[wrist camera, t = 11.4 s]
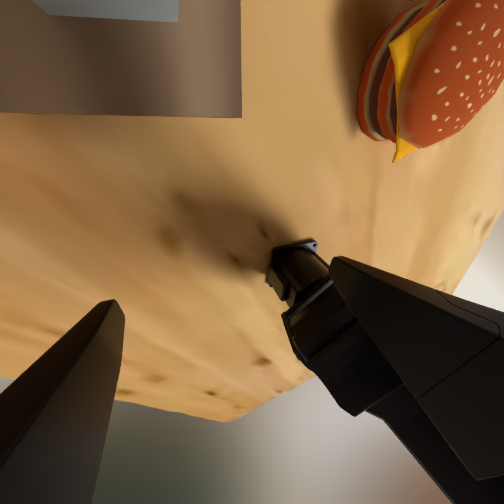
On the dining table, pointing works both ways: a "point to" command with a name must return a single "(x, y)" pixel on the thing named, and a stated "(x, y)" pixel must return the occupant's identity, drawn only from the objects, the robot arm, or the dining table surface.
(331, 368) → the robot arm
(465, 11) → the hamburger
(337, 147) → the dining table surface
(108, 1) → the slate cube
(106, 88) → the walnut block
